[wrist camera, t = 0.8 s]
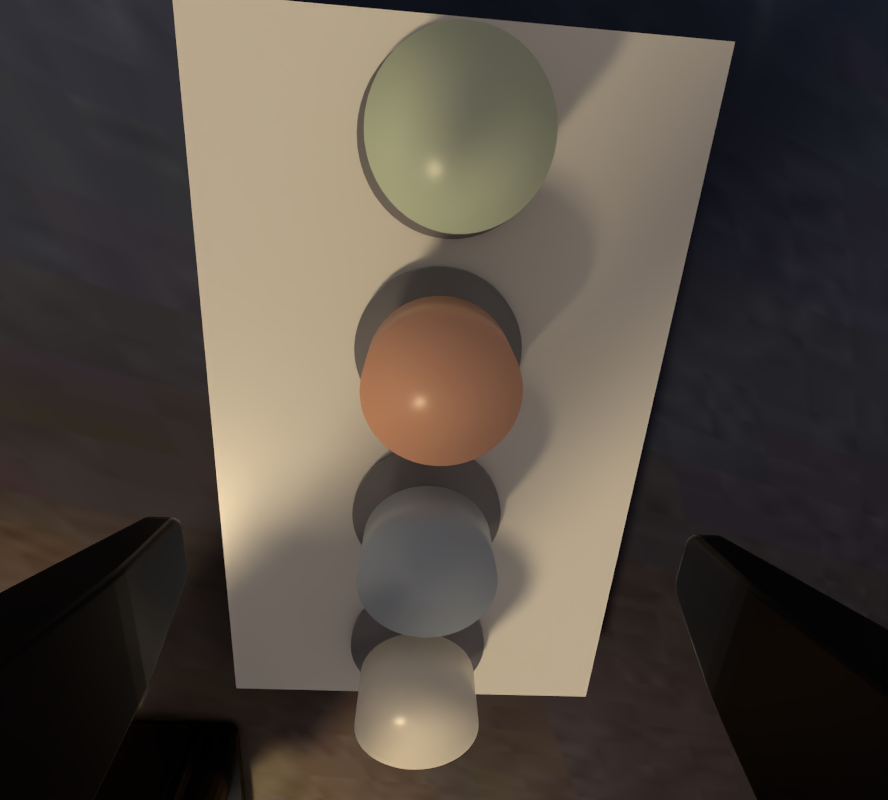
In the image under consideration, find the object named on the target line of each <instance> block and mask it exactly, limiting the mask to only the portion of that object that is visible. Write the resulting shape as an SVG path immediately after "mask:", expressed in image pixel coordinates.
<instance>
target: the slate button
mask: <svg viewBox="0 0 888 800" xmlns="http://www.w3.org/2000/svg"><path fill="white" fill-rule="evenodd" d="M356 582H357V591H358V595H359V598H360V601H361V603H362V605H363V606H364V608H365V610H366V611H367V612H368V613H369V614H370V616H371V617H372V618H374V619H375V620H376V621H377V622H378V623H380V624H381V625H382V626H384V627H386V628H388V629H390V630H392V631H394V632H397V633H400V634H403V635H407V636H412V637H422V638H428V637H440V636H445V635H449V634H452V633H455V632H458V631H460V630H462V629H465V628H466V627H468V626H470V625H471V624H473V623H474V622H475V621H477V620H478V619H479V618H480V617H481V616H482V615H483V614H484V613H485V612H486V611H487V609H488V608H489V607H490V605H491V603H492V601H493V599H494V597H495V594H496V590H497V583H498V577H497V569H496V564H495V558H494V552H493V547H492V541H491V536H490V530H489V526H488V523H487V520H486V518H485V516H484V515H483V513H482V511H481V510H480V509H479V508H478V507H477V505H476V504H475V503H473V502H472V501H471V500H470V499H469V498H467V497H465V496H464V495H462V494H460V493H458V492H456V491H453V490H450V489H447V488H443V487H437V486H418V487H412V488H408V489H404V490H402V491H399V492H397V493H395V494H393V495H391V496H389V497H388V498H386V499H385V500H383V501H382V502H381V503H380V504H379V505H378V506H377V507H376V508H375V509H374V511H373V512H372V513H371V515H370V517H369V518H368V521H367V523H366V526H365V530H364V535H363V541H362V547H361V553H360V560H359V566H358V572H357V581H356Z"/></svg>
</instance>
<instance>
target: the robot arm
mask: <svg viewBox="0 0 888 800" xmlns="http://www.w3.org/2000/svg"><path fill="white" fill-rule="evenodd" d="M186 576H187V562H186V555H185V547H184V540H183V532H182V526H181V524H180V522H179V520H177V519H176V518H172V517H146V518H144V519H142V520H140V521H138V522H136V523H134V524H132V525H130V526H128V527H126V528H124V529H122V530H120V531H118V532H117V533H115V534H113V535H111V536H109V537H107V538H105V539H103V540H101V541H99V542H97V543H95V544H93V545H91V546H90V547H88V548H86V549H84V550H82V551H80V552H78V553H76V554H74V555H72V556H70V557H68V558H66V559H65V560H63V561H61V562H59V563H57V564H55V565H53V566H51V567H49V568H47V569H45V570H43V571H41V572H39V573H38V574H36V575H34V576H32V577H30V578H28V579H26V580H24V581H22V582H20V583H18V584H16V585H14V586H12V587H11V588H9V589H7V590H5V591H3V592H1V593H0V800H245V794H244V783H243V773H242V762H241V752H240V741H239V730H238V728H237V727H236V726H235V725H234V724H231V723H225V722H176V721H132V719H133V717H134V715H135V713H136V711H137V709H138V707H139V705H140V703H141V701H142V698H143V696H144V694H145V692H146V690H147V687H148V685H149V682H150V679H151V677H152V674H153V672H154V669H155V666H156V663H157V661H158V658H159V655H160V652H161V649H162V647H163V644H164V641H165V638H166V635H167V633H168V630H169V627H170V624H171V621H172V619H173V616H174V613H175V610H176V607H177V605H178V602H179V599H180V596H181V594H182V591H183V588H184V585H185V581H186ZM676 595H677V599H678V602H679V605H680V608H681V611H682V614H683V617H684V620H685V623H686V626H687V629H688V632H689V635H690V638H691V641H692V644H693V647H694V650H695V652H696V655H697V658H698V661H699V664H700V667H701V670H702V673H703V676H704V679H705V682H706V685H707V687H708V690H709V693H710V696H711V698H712V701H713V703H714V705H715V708H716V710H717V712H718V715H719V717H720V719H721V721H722V723H723V726H724V728H725V730H726V732H727V735H728V737H729V739H730V741H731V743H732V746H733V748H734V750H735V752H736V754H737V757H738V759H739V761H740V763H741V765H742V768H743V770H744V772H745V774H746V776H747V779H748V781H749V783H750V785H751V787H752V790H753V792H754V794H755V796H756V798H757V800H888V629H886V628H884V627H882V626H880V625H879V624H877V623H875V622H873V621H872V620H870V619H868V618H866V617H864V616H863V615H861V614H859V613H857V612H855V611H854V610H852V609H850V608H848V607H847V606H845V605H843V604H841V603H839V602H838V601H836V600H834V599H832V598H830V597H829V596H827V595H825V594H823V593H822V592H820V591H818V590H816V589H814V588H813V587H811V586H809V585H807V584H805V583H804V582H802V581H800V580H798V579H797V578H795V577H793V576H791V575H789V574H788V573H786V572H784V571H782V570H780V569H779V568H777V567H775V566H773V565H772V564H770V563H768V562H766V561H764V560H763V559H761V558H759V557H757V556H755V555H754V554H752V553H750V552H748V551H747V550H745V549H743V548H741V547H739V546H738V545H736V544H734V543H732V542H730V541H729V540H727V539H725V538H723V537H721V536H717V535H693V536H691V537H690V538H689V539H688V540H687V543H686V545H685V549H684V553H683V556H682V560H681V564H680V567H679V571H678V575H677V579H676Z"/></svg>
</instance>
